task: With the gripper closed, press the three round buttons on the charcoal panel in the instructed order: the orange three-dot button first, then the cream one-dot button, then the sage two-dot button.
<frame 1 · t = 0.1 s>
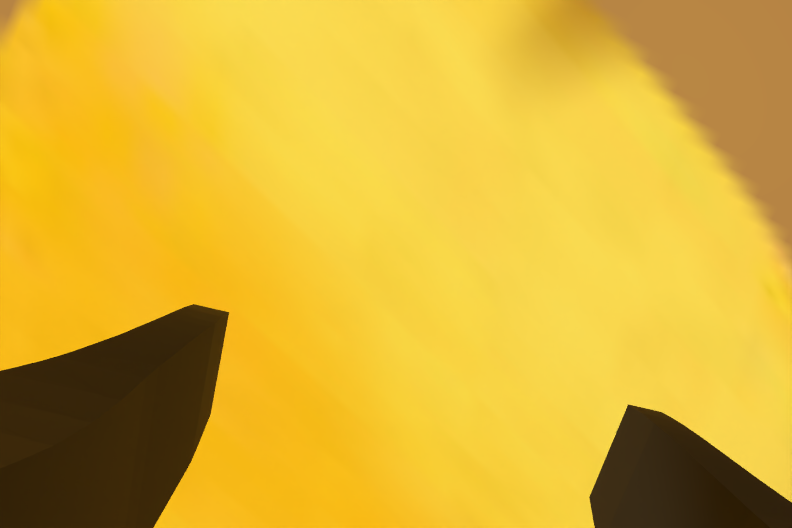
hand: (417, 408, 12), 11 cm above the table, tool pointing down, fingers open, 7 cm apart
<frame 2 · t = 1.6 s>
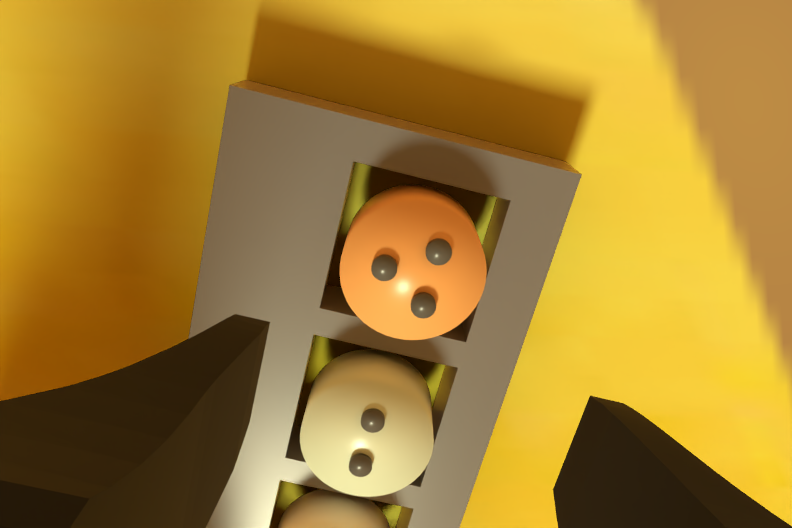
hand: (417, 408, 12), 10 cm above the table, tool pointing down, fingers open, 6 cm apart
button two: (368, 423, 21), point 3 cm above the table, slide at 0.0 cm
button three: (412, 262, 19), point 3 cm above the table, slide at 0.0 cm
button panel: (344, 376, 23), on the table
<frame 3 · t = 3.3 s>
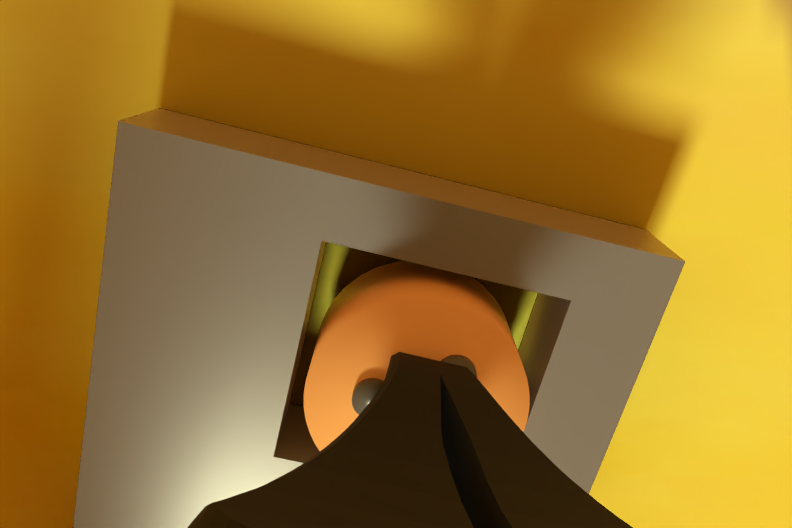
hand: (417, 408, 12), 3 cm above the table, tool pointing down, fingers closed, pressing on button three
button three: (415, 379, 13), point 2 cm above the table, slide at 0.7 cm, touching gripper
button panel: (316, 527, 16), on the table
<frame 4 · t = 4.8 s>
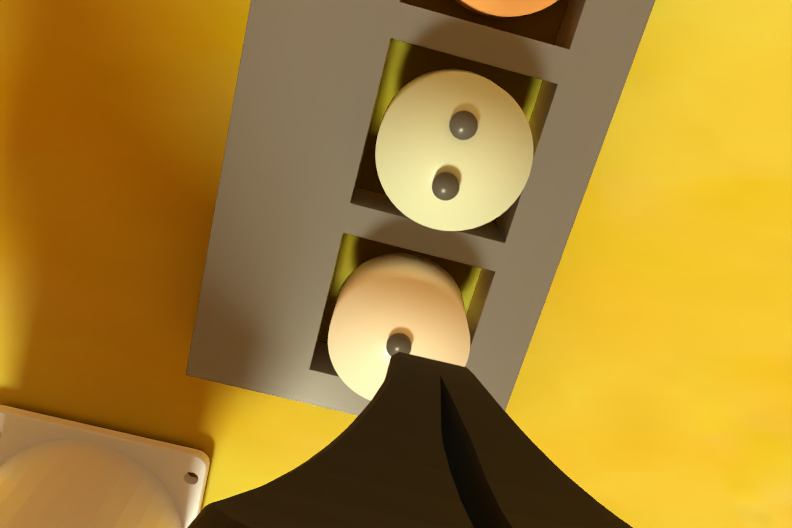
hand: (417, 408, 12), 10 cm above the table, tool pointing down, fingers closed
button two: (451, 149, 18), point 3 cm above the table, slide at 0.0 cm
button one: (399, 329, 20), point 3 cm above the table, slide at 0.0 cm
button panel: (414, 125, 20), on the table
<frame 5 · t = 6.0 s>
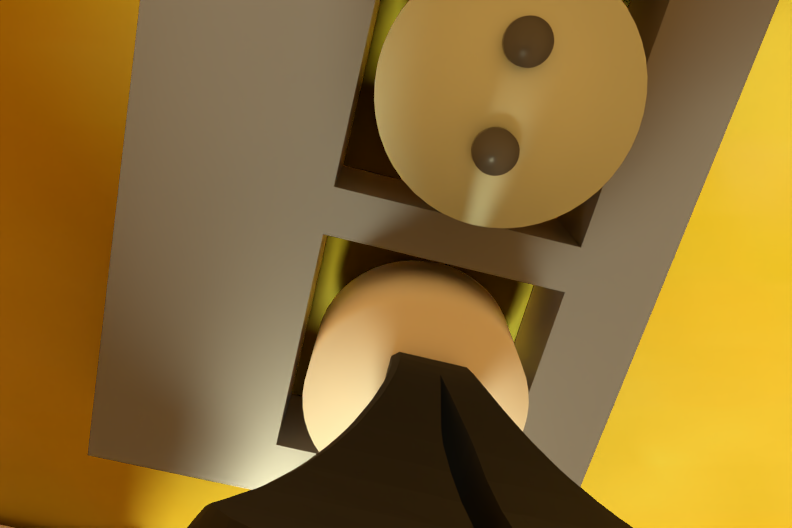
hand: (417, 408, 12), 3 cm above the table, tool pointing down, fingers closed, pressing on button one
button two: (500, 92, 11), point 3 cm above the table, slide at 0.0 cm
button one: (414, 379, 13), point 2 cm above the table, slide at 0.3 cm, touching gripper
button panel: (433, 68, 13), on the table
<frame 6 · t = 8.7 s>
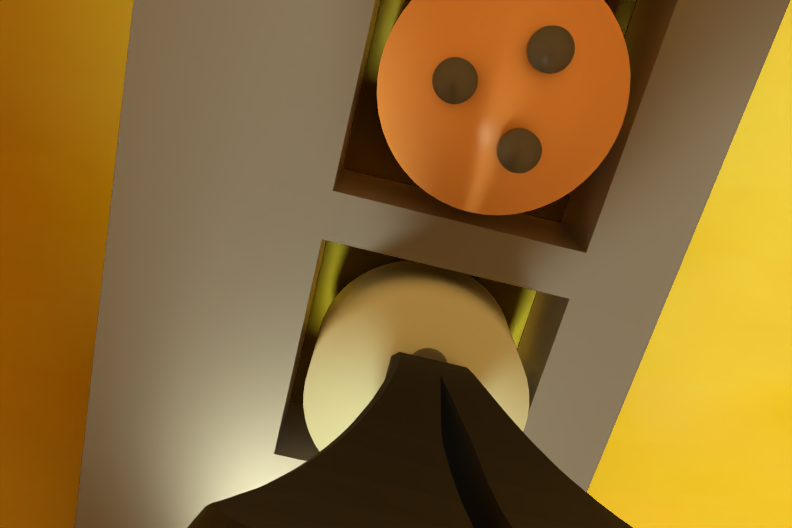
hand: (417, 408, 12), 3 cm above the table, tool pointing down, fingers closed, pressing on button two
button two: (415, 379, 13), point 2 cm above the table, slide at 0.6 cm, touching gripper
button three: (495, 88, 11), point 1 cm above the table, slide at 1.1 cm
button panel: (368, 324, 15), on the table
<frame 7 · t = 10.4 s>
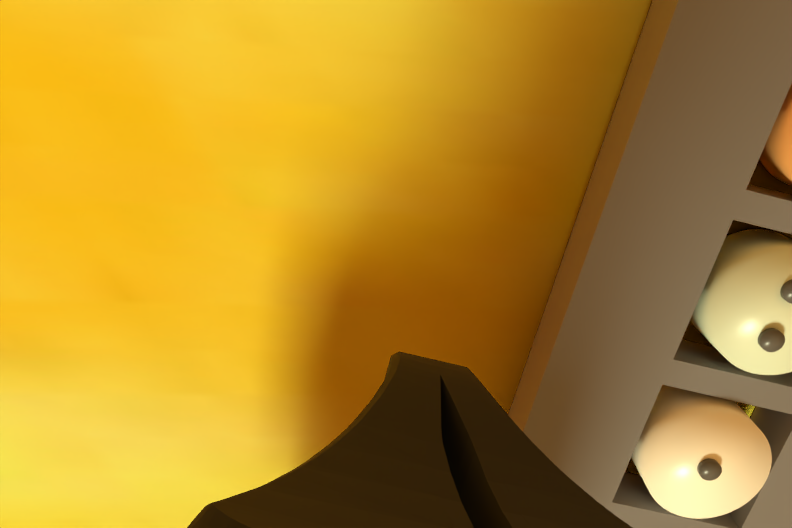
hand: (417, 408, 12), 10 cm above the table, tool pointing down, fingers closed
button two: (764, 302, 21), point 1 cm above the table, slide at 1.1 cm
button one: (695, 450, 22), point 1 cm above the table, slide at 1.1 cm
button panel: (713, 278, 22), on the table
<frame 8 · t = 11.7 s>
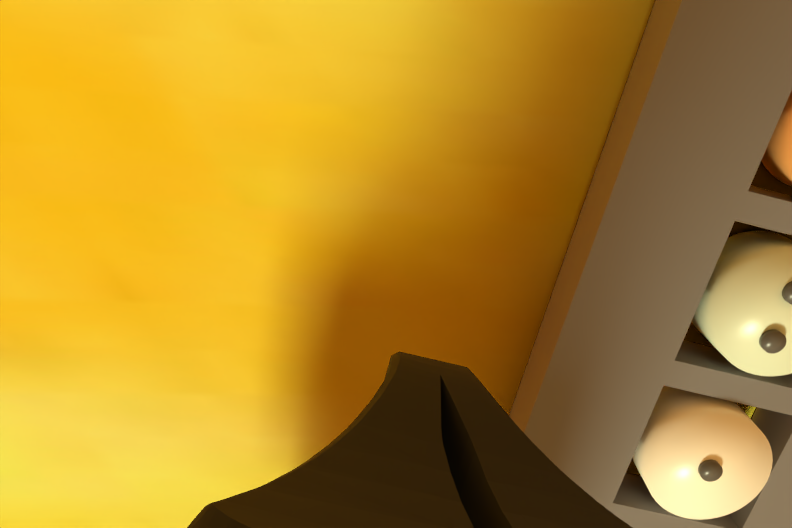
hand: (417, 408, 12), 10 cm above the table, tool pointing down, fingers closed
button two: (765, 303, 21), point 1 cm above the table, slide at 1.1 cm
button one: (696, 451, 22), point 1 cm above the table, slide at 1.1 cm
button panel: (715, 279, 22), on the table
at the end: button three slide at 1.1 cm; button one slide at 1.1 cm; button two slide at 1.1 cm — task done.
